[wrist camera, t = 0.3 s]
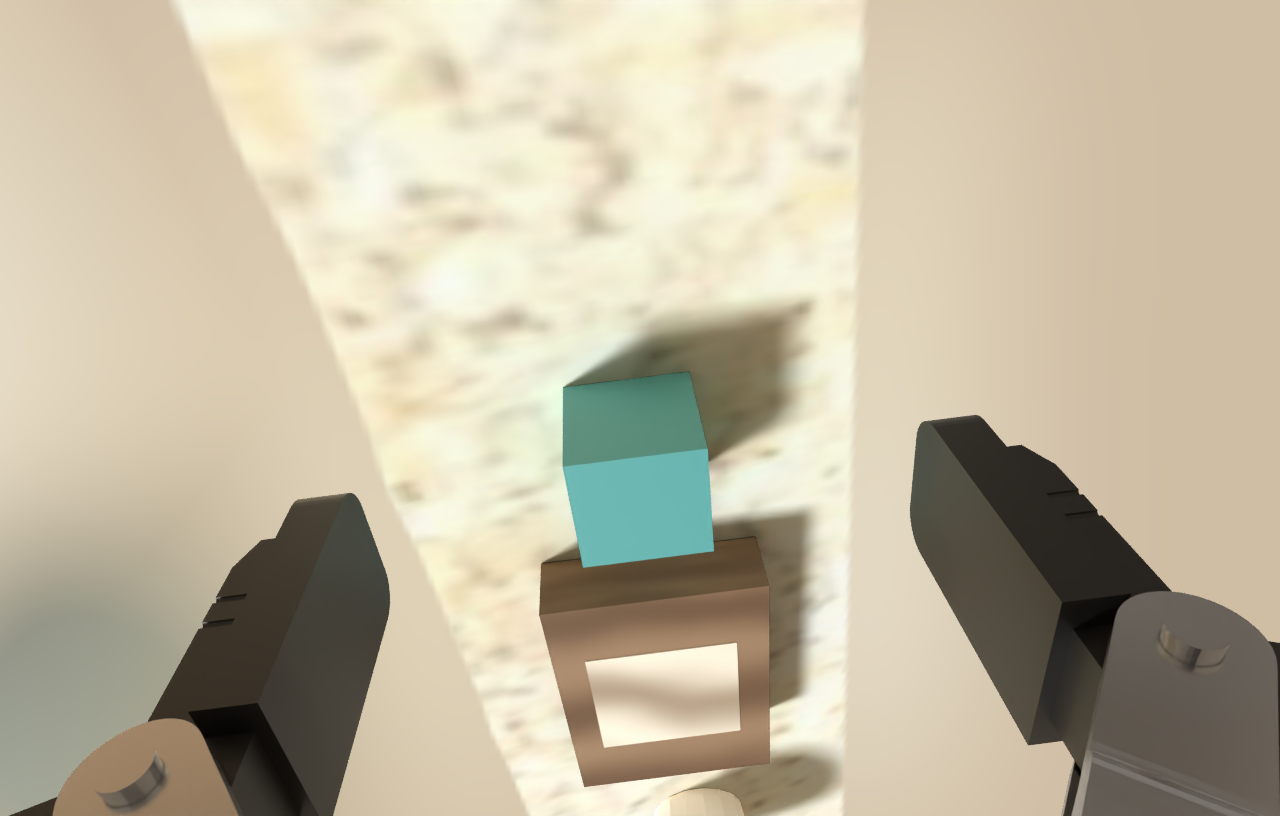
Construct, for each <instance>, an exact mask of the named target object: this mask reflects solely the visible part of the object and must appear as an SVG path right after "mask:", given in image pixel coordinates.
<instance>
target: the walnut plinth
mask: <svg viewBox="0 0 1280 816" xmlns="http://www.w3.org/2000/svg"><path fill="white" fill-rule="evenodd" d="M713 544H714V551H712V552H704V553H696V554H688V555H680V556H672V557H664V558H656V559H649V560H641V561H633V562H625V563H617V564H609V565H601V566H593V567H585V568H583V565H582V560H581V559H576V560H568V561H560V562H552V563H544V564H541V582H540V610H539V616H540V620H541V623H542V627H543V631H544V635H545V639H546V642H547V646H548V650H549V654H550V658H551V662H552V665H553V669H554V673H555V677H556V681H557V684H558V688H559V692H560V696H561V700H562V704H563V707H564V711H565V715H566V719H567V723H568V727H569V730H570V734H571V738H572V742H573V746H574V749H575V753H576V757H577V761H578V765H579V769H580V772H581V776H582V780H583V784H584V787H588V786H596V785H604V784H612V783H619V782H627V781H635V780H643V779H651V778H659V777H666V776H674V775H682V774H690V773H698V772H705V771H713V770H721V769H729V768H737V767H745V766H752V765H760V764H768V763H770V702H769V584H768V580H767V577H766V573H765V569H764V566H763V562H762V559H761V555H760V551H759V548H758V544H757V541H756V537H750V538H742V539H734V540H727V541H719V542H713Z"/></svg>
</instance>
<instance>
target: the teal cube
mask: <svg viewBox="0 0 1280 816" xmlns="http://www.w3.org/2000/svg"><path fill="white" fill-rule="evenodd" d="M563 471H564V475H565V480H566V485H567V490H568V495H569V500H570V505H571V510H572V515H573V520H574V525H575V530H576V535H577V540H578V545H579V550H580V555H581V560H582V565H583V568H585V567H593V566H601V565H609V564H617V563H625V562H633V561H641V560H649V559H656V558H664V557H672V556H680V555H688V554H696V553H704V552H712V551H714V544H713V528H712V512H711V495H710V479H709V462H708V448H707V444H706V440H705V435H704V431H703V427H702V423H701V419H700V414H699V410H698V406H697V402H696V398H695V394H694V389H693V385H692V381H691V377H690V373H689V372H681V373H673V374H665V375H657V376H649V377H641V378H633V379H625V380H617V381H609V382H601V383H593V384H585V385H577V386H569V387H563Z"/></svg>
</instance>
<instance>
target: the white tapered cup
mask: <svg viewBox="0 0 1280 816" xmlns="http://www.w3.org/2000/svg"><path fill="white" fill-rule="evenodd" d="M654 816H744V813H743V810H742V806H741V802H740V800H739V799H738V798H736V797H735V796H734V795H733V794H732V793H729V792H726V791H723V790H720V789H709V788H699V789H693V790H687V791H683V792H680V793H678V794H675V795H673V796H670V797H668V798H667V799H666V800H665V801H663V802H662V803H661V804H660V805H658V808H657V810H656V812H655V814H654Z"/></svg>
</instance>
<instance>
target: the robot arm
mask: <svg viewBox="0 0 1280 816" xmlns="http://www.w3.org/2000/svg"><path fill="white" fill-rule="evenodd" d="M913 471H914V472H913V481H912V493H911V503H910V504H911V505H910V518H911V526H912V531H913V535H914V539H915V542H916V545H917V547H918V549H919V551H920V553H921V555H922V557H923V559H924V560H925V562H926V564H927V566H928V568H929V569H930V571H931V573H932V575H933V576H934V578H935V580H936V582H937V583H938V585H939V587H940V589H941V591H942V593H943V594H944V596H945V598H946V600H947V601H948V603H949V605H950V607H951V608H952V610H953V612H954V614H955V616H956V618H957V619H958V621H959V623H960V625H961V626H962V628H963V630H964V632H965V633H966V635H967V637H968V639H969V641H970V642H971V644H972V646H973V648H974V649H975V651H976V653H977V654H978V657H979V658H980V660H981V662H982V664H983V666H984V667H985V669H986V670H987V673H988V674H989V676H990V678H991V680H992V682H993V683H994V685H995V687H996V689H997V690H998V692H999V694H1000V696H1001V698H1002V699H1003V701H1004V703H1005V705H1006V707H1007V708H1008V710H1009V712H1010V714H1011V715H1012V717H1013V719H1014V721H1015V722H1016V724H1017V726H1018V728H1019V730H1020V732H1021V733H1022V735H1023V737H1024V739H1025V740H1026V742H1027V744H1028V745H1034V744H1042V743H1049V742H1057V741H1063V742H1064V743H1065V745H1066V747H1067V749H1068V750H1069V752H1070V754H1071V755H1072V757H1073V758H1074V762H1073V765H1072V769H1071V773H1070V777H1069V781H1068V786H1067V791H1066V795H1065V800H1064V805H1063V810H1062V814H1061V816H1280V643H1276V642H1269V641H1267V639H1266V638H1265V637H1264V636H1263V635H1262V633H1261V632H1260V631H1259V630H1258V629H1257V628H1256V627H1254V626H1253V625H1252V624H1251V623H1249V622H1248V621H1247V620H1246V619H1244V618H1243V617H1241V616H1240V615H1238V614H1237V613H1235V612H1233V611H1231V610H1230V609H1228V608H1226V607H1224V606H1222V605H1219V604H1217V603H1215V602H1212V601H1210V600H1207V599H1204V598H1201V597H1198V596H1194V595H1189V594H1185V593H1179V592H1172V591H1171V590H1170V589H1169V588H1168V587H1167V586H1166V584H1165V583H1164V582H1163V581H1162V580H1161V579H1160V578H1159V577H1158V576H1157V575H1156V574H1155V572H1154V571H1153V570H1152V569H1151V568H1150V567H1149V566H1148V565H1147V564H1146V563H1145V562H1144V560H1143V559H1142V558H1141V557H1140V556H1139V555H1138V554H1137V553H1136V552H1135V551H1134V550H1133V548H1132V547H1131V546H1130V545H1129V544H1128V543H1127V542H1126V541H1125V540H1124V539H1123V538H1122V537H1121V535H1120V534H1119V533H1118V532H1117V531H1116V530H1115V529H1114V528H1113V527H1112V525H1111V524H1110V523H1109V522H1108V521H1107V520H1106V519H1105V518H1104V517H1103V516H1102V515H1101V516H1099V515H1098V513H1097V509H1096V508H1095V507H1094V506H1093V505H1092V504H1091V503H1090V501H1089V500H1088V499H1087V498H1086V497H1085V496H1084V495H1083V494H1082V495H1080V494H1079V492H1078V488H1077V487H1076V486H1075V485H1074V484H1073V483H1072V482H1071V481H1070V480H1069V478H1068V477H1067V476H1066V475H1065V474H1064V473H1063V472H1062V471H1061V470H1060V469H1059V468H1058V467H1057V466H1056V464H1054V463H1052V462H1051V461H1049V460H1047V459H1045V458H1043V457H1042V456H1040V455H1038V454H1036V453H1035V452H1033V451H1031V450H1029V449H1028V448H1026V447H1024V446H1022V445H1017V446H1009V447H1007V446H1006V445H1005V444H1004V443H1003V442H1002V441H1001V439H1000V438H999V437H998V436H997V435H996V433H995V432H994V431H993V430H992V429H991V428H990V426H989V425H988V424H987V423H986V422H985V420H984V419H982V418H981V417H980V416H978V415H971V416H964V417H956V418H948V419H940V420H932V421H924V422H922V423H921V424H920V426H919V428H918V432H917V438H916V450H915V460H914V470H913ZM389 607H390V592H389V583H388V578H387V574H386V571H385V568H384V566H383V563H382V560H381V557H380V555H379V552H378V549H377V546H376V544H375V541H374V538H373V535H372V533H371V530H370V527H369V525H368V522H367V519H366V516H365V514H364V511H363V508H362V506H361V503H360V501H359V500H358V498H357V497H356V496H355V495H354V494H352V493H346V494H339V495H331V496H323V497H315V498H307V499H299V500H297V501H295V502H294V503H293V505H292V506H291V508H290V510H289V512H288V514H287V516H286V518H285V520H284V522H283V524H282V526H281V528H280V530H279V532H278V534H277V536H276V538H274V539H267V540H261V541H260V542H259V543H258V544H257V545H256V546H255V547H254V548H253V549H252V550H250V551H249V552H248V553H247V554H246V555H245V556H244V557H243V558H242V559H241V560H240V561H239V562H238V563H237V564H236V565H235V566H234V567H233V568H232V569H231V571H230V573H229V575H228V577H227V578H226V580H225V582H224V584H223V586H222V587H221V589H220V591H219V593H218V595H217V596H216V603H214V604H212V606H211V607H210V609H209V611H208V613H207V615H206V617H205V618H204V620H203V622H202V623H203V628H202V629H198V631H197V633H196V635H195V637H194V638H193V640H192V642H191V644H190V646H189V648H188V649H187V651H186V653H185V655H184V657H183V659H182V660H181V662H180V664H179V666H178V668H177V669H176V671H175V673H174V675H173V677H172V679H171V680H170V682H169V684H168V686H167V688H166V689H165V691H164V693H163V695H162V697H161V698H160V700H159V702H158V704H157V706H156V708H155V709H154V711H153V713H152V715H151V717H150V718H149V720H148V722H146V723H143V724H140V725H138V726H135V727H133V728H130V729H128V730H126V731H124V732H122V733H120V734H118V735H117V736H115V737H113V738H112V739H110V740H109V741H107V742H105V743H104V744H103V745H101V746H100V747H99V748H97V749H96V750H95V751H94V752H92V753H91V754H90V755H89V756H88V757H87V758H86V759H85V760H84V761H82V763H81V764H80V765H79V766H78V767H77V768H76V769H75V770H74V771H73V773H72V774H71V775H70V777H69V778H68V779H67V781H66V782H65V784H64V785H63V787H62V789H61V791H60V793H59V795H58V797H56V798H54V799H51V800H48V801H46V802H43V803H41V804H38V805H35V806H33V807H31V808H28V809H25V810H23V811H20V812H18V813H15V814H12V815H10V816H333V813H334V809H335V806H336V803H337V799H338V795H339V792H340V788H341V785H342V781H343V777H344V774H345V770H346V767H347V763H348V760H349V756H350V753H351V749H352V745H353V742H354V738H355V734H356V731H357V727H358V724H359V720H360V716H361V713H362V709H363V705H364V702H365V699H366V695H367V691H368V688H369V684H370V681H371V677H372V673H373V669H374V666H375V663H376V659H377V655H378V652H379V648H380V645H381V641H382V637H383V634H384V630H385V626H386V623H387V620H388V615H389Z"/></svg>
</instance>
